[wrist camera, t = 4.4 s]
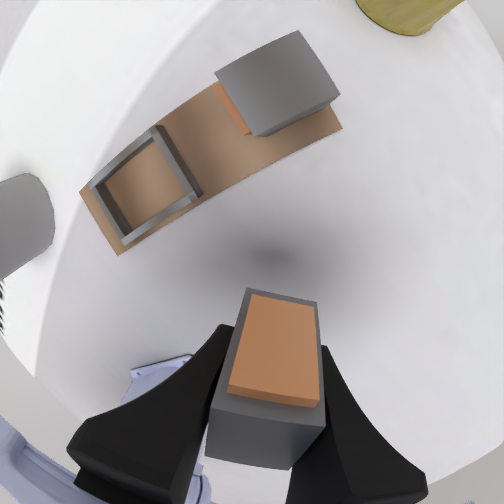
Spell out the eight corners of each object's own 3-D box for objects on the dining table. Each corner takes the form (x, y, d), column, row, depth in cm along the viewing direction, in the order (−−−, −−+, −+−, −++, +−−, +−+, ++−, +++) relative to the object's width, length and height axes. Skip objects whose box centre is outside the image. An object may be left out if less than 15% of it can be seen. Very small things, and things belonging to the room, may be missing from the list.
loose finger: (294, 360, 13) (288, 470, 7) (234, 348, 13) (204, 455, 8) (319, 294, 11) (331, 419, 6) (248, 279, 11) (211, 398, 6)
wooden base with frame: (125, 250, 21) (70, 296, 14) (88, 188, 19) (22, 216, 13) (339, 128, 15) (371, 125, 9) (290, 48, 14) (288, -2, 7)
